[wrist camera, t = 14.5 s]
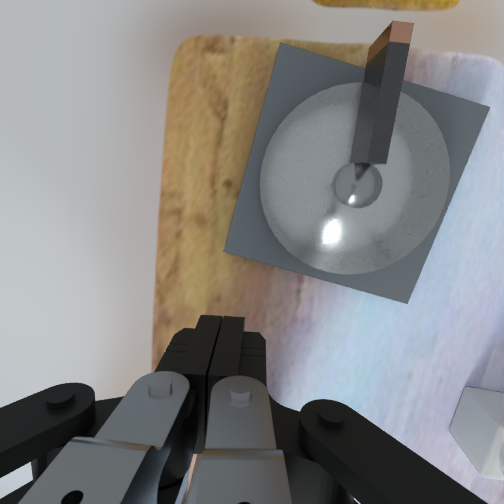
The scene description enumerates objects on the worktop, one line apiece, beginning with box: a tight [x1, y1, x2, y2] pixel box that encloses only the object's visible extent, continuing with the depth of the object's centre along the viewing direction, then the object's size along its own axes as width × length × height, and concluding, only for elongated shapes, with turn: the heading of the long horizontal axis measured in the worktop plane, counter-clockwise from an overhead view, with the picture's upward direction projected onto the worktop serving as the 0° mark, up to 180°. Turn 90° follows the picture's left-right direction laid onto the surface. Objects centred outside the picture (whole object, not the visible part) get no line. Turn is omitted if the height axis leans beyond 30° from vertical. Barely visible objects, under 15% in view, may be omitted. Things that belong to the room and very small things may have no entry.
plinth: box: [223, 43, 490, 304], centre depth 38 cm, size 22×22×2 cm
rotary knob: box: [260, 21, 450, 274], centre depth 32 cm, size 22×19×8 cm
